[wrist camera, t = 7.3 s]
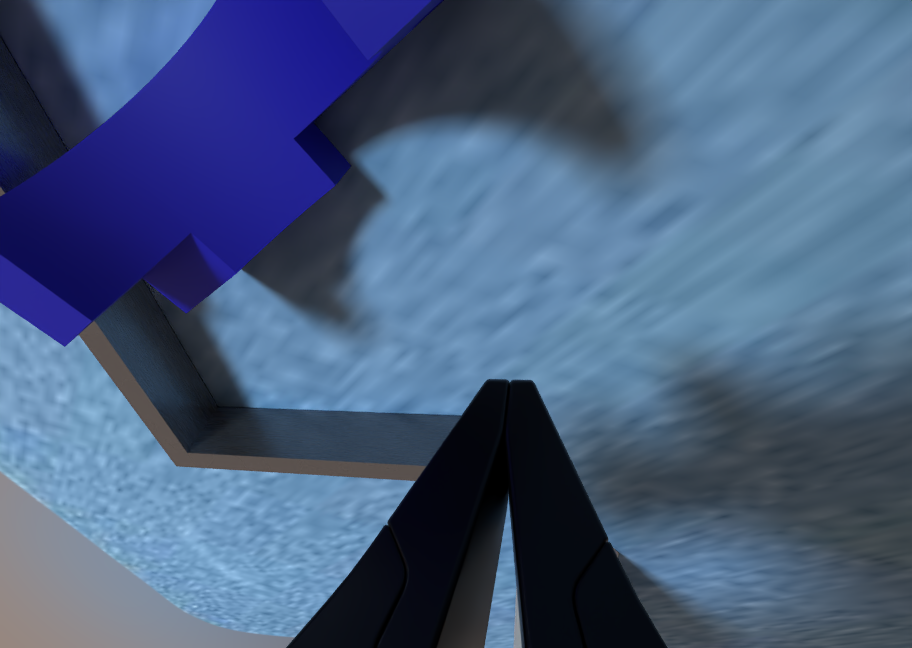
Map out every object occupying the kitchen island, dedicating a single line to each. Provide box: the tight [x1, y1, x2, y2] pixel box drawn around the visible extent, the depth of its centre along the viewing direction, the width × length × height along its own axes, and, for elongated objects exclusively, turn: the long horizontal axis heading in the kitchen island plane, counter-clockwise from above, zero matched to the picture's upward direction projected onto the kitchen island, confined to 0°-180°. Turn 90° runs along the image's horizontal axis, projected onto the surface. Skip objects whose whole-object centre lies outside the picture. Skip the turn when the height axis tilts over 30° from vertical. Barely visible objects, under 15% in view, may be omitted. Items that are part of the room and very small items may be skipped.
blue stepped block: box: [0, 0, 444, 347], centre depth 11 cm, size 12×4×6 cm, turn 128°
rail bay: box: [0, 37, 461, 481], centre depth 15 cm, size 13×20×3 cm, turn 6°
